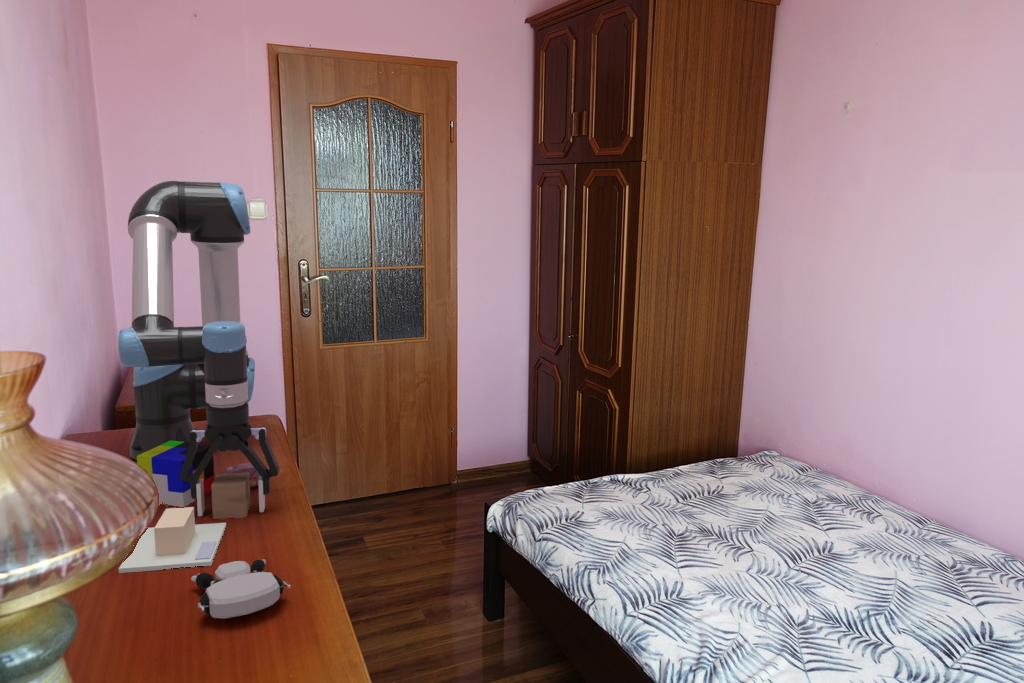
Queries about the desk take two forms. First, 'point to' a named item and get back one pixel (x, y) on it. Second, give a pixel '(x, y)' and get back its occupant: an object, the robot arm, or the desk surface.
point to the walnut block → (230, 495)
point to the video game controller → (245, 468)
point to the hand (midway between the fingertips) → (232, 511)
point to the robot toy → (238, 589)
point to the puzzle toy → (175, 471)
